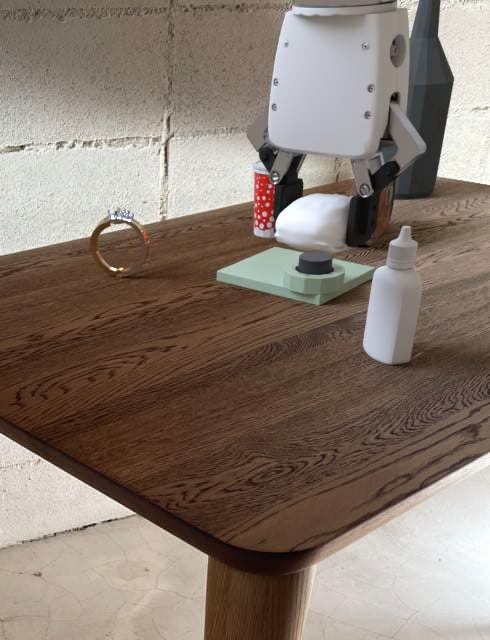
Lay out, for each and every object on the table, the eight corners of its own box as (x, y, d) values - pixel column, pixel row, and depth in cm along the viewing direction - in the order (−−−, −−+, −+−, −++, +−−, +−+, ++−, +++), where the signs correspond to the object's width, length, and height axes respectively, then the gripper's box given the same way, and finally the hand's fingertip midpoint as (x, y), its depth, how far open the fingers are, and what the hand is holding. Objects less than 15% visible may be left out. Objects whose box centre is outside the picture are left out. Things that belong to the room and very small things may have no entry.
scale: (380, 278, 101) (384, 253, 100) (321, 309, 94) (324, 282, 92) (274, 255, 110) (276, 231, 108) (212, 282, 103) (213, 257, 101)
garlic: (313, 224, 79) (317, 180, 77) (380, 237, 75) (387, 190, 73) (260, 247, 74) (263, 201, 72) (329, 261, 70) (334, 213, 68)
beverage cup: (272, 224, 122) (281, 114, 114) (303, 234, 117) (314, 120, 109) (238, 232, 119) (245, 120, 111) (268, 242, 115) (277, 127, 107)
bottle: (353, 194, 133) (384, -41, 116) (381, 180, 139) (414, -45, 122) (419, 202, 128) (461, -43, 111) (445, 188, 134) (489, -47, 117)
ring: (151, 276, 106) (151, 207, 101) (142, 284, 103) (141, 214, 99) (98, 270, 108) (96, 204, 104) (88, 278, 106) (85, 210, 101)
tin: (363, 254, 109) (372, 183, 104) (338, 251, 111) (346, 181, 106) (392, 223, 120) (403, 157, 115) (369, 221, 121) (378, 156, 116)
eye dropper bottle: (408, 345, 85) (431, 219, 78) (409, 368, 81) (433, 237, 74) (362, 342, 86) (381, 217, 80) (360, 364, 82) (380, 235, 75)
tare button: (337, 271, 96) (339, 255, 95) (319, 279, 94) (321, 263, 93) (309, 264, 99) (310, 249, 98) (291, 273, 97) (292, 257, 96)
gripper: (484, -18, 61) (438, 241, 71) (275, -15, 71) (262, 211, 82) (434, -8, 57) (393, 266, 67) (219, -7, 67) (213, 231, 77)
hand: (321, 234), depth 74 cm, fingers closed on garlic, 6 cm apart
